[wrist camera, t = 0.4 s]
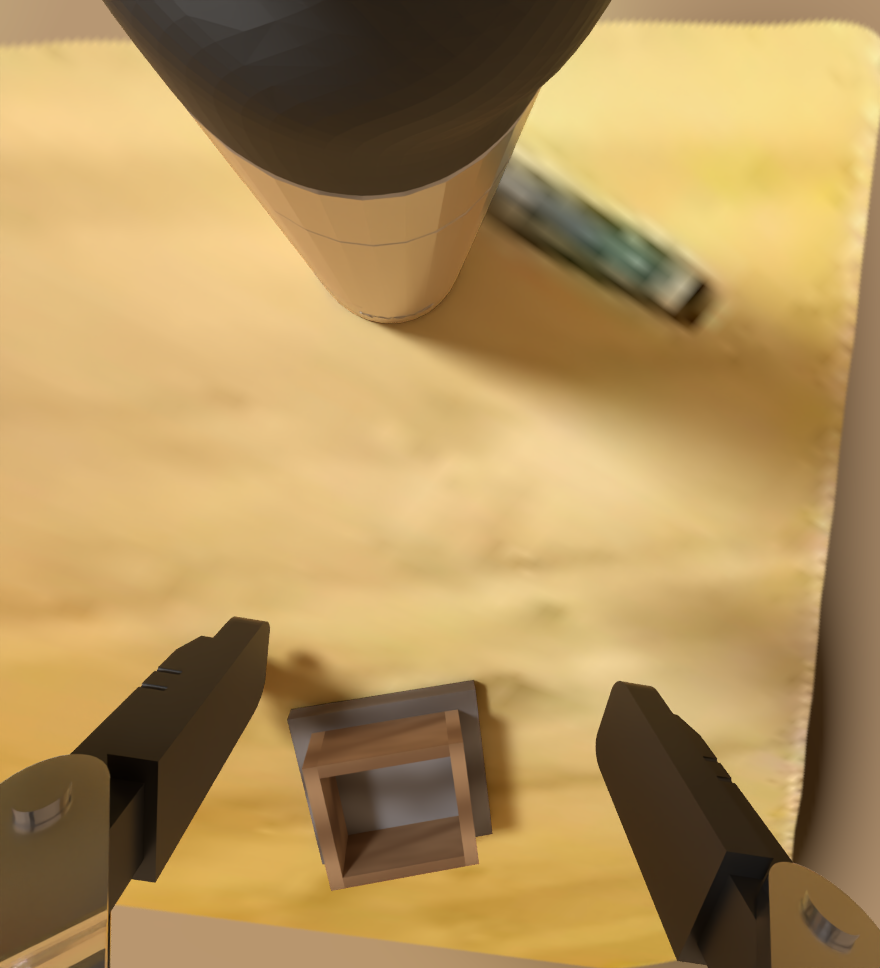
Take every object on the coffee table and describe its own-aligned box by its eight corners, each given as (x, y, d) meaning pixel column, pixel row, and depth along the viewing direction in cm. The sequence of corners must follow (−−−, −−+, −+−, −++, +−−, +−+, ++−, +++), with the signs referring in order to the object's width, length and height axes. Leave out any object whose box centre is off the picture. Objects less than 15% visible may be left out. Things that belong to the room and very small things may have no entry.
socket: (291, 709, 31) (274, 754, 27) (473, 680, 32) (482, 720, 28) (324, 851, 34) (314, 909, 31) (490, 821, 35) (500, 875, 31)
